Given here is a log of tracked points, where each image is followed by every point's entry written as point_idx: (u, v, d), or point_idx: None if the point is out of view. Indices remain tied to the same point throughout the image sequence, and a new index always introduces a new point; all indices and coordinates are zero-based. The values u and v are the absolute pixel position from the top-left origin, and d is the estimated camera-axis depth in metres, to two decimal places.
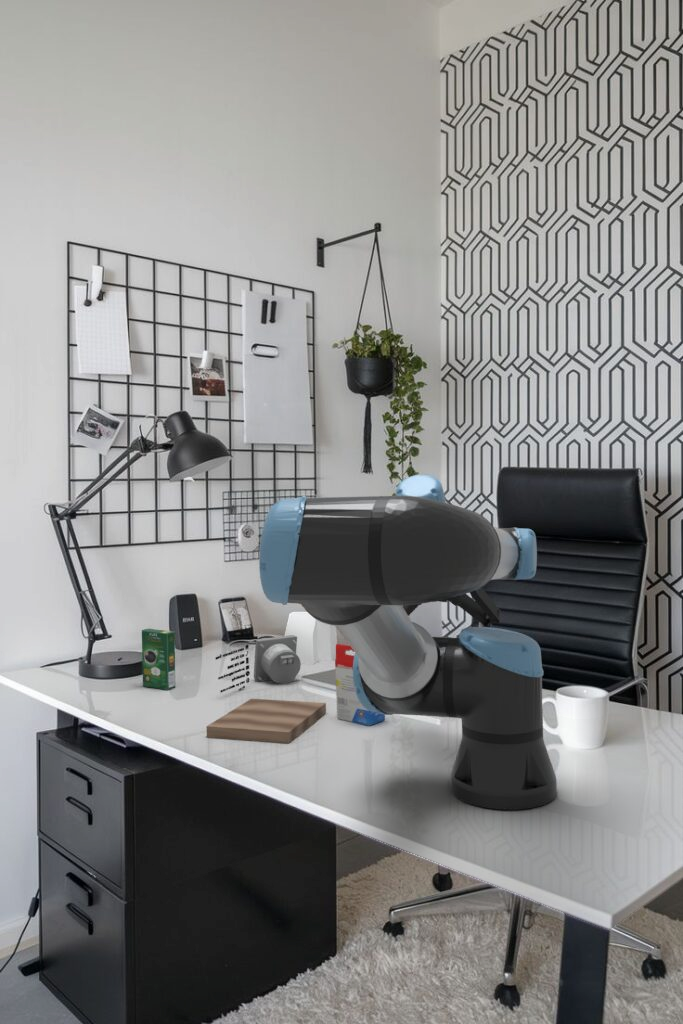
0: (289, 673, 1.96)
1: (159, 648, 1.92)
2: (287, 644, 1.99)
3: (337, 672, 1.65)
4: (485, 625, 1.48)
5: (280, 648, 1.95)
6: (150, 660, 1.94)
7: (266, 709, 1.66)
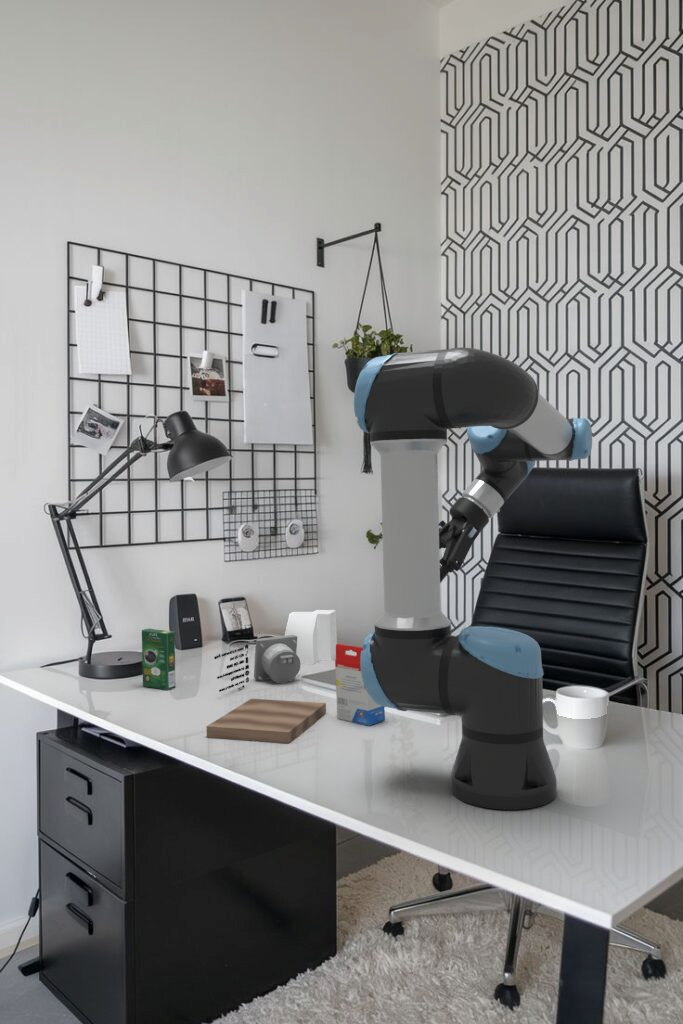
0: (289, 673, 1.96)
1: (160, 648, 1.92)
2: (287, 644, 2.00)
3: (337, 672, 1.65)
4: None
5: (280, 648, 1.96)
6: (150, 660, 1.94)
7: (266, 709, 1.66)
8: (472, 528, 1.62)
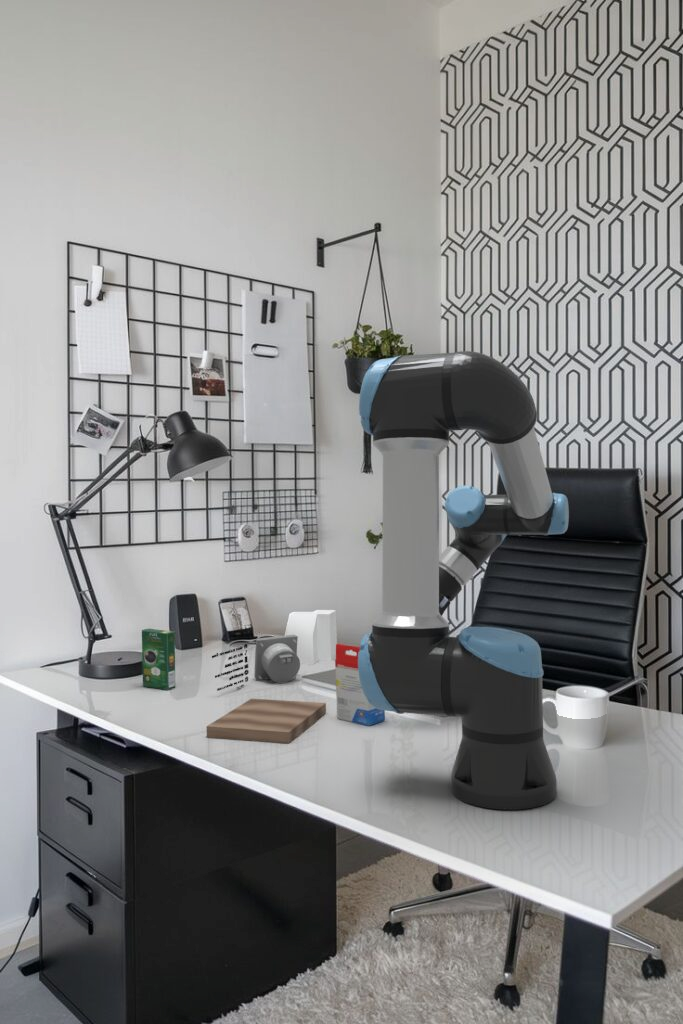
0: (289, 672, 1.96)
1: (160, 648, 1.92)
2: (287, 643, 2.00)
3: (337, 672, 1.65)
4: None
5: (279, 647, 1.96)
6: (150, 660, 1.94)
7: (266, 709, 1.66)
8: (443, 598, 1.62)
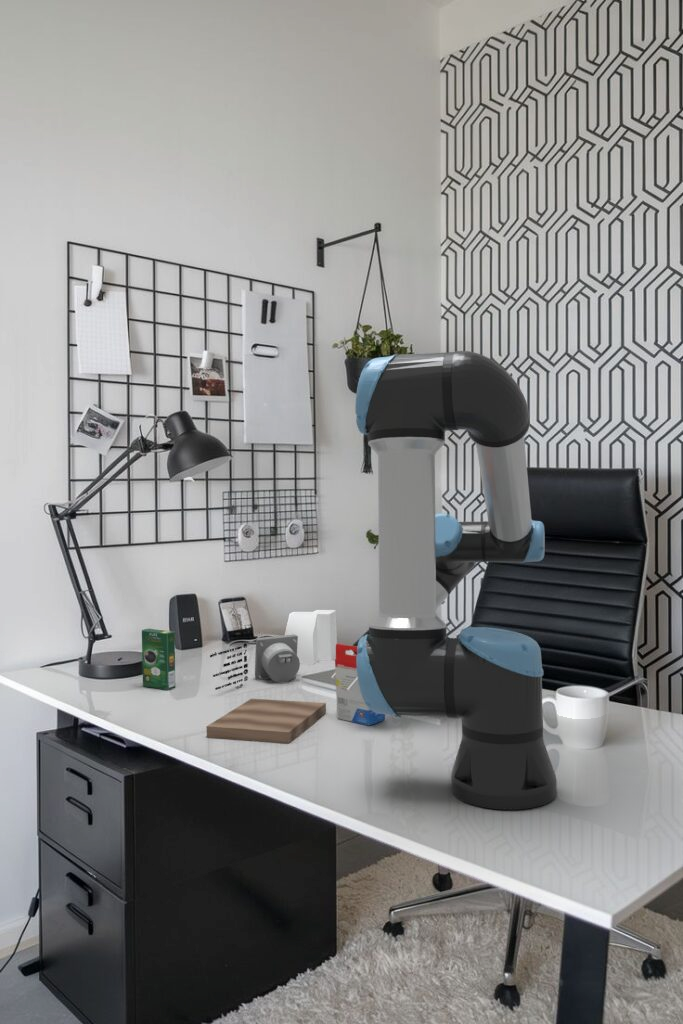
0: (288, 672, 1.97)
1: (159, 648, 1.92)
2: (288, 643, 2.00)
3: (337, 672, 1.65)
4: None
5: (279, 647, 1.97)
6: (150, 660, 1.94)
7: (266, 709, 1.66)
8: None
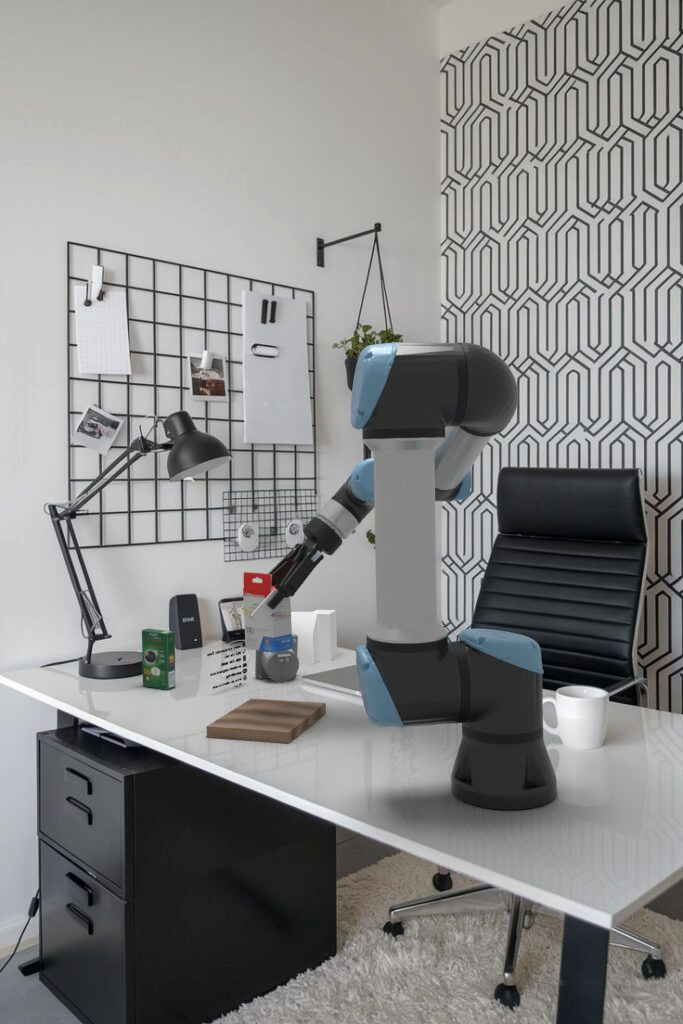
0: (288, 672, 1.97)
1: (160, 648, 1.92)
2: None
3: (245, 601, 1.63)
4: None
5: None
6: (150, 660, 1.94)
7: (266, 709, 1.66)
8: (316, 552, 1.57)
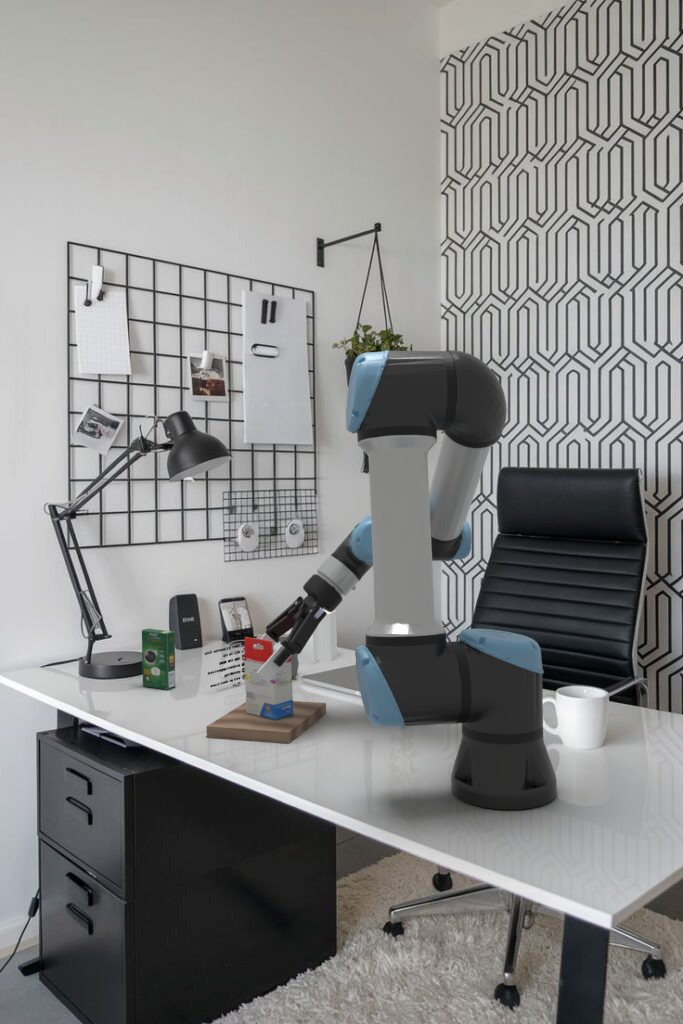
0: None
1: (160, 648, 1.92)
2: None
3: (246, 666, 1.63)
4: None
5: (278, 646, 1.98)
6: (150, 660, 1.94)
7: None
8: (319, 609, 1.58)
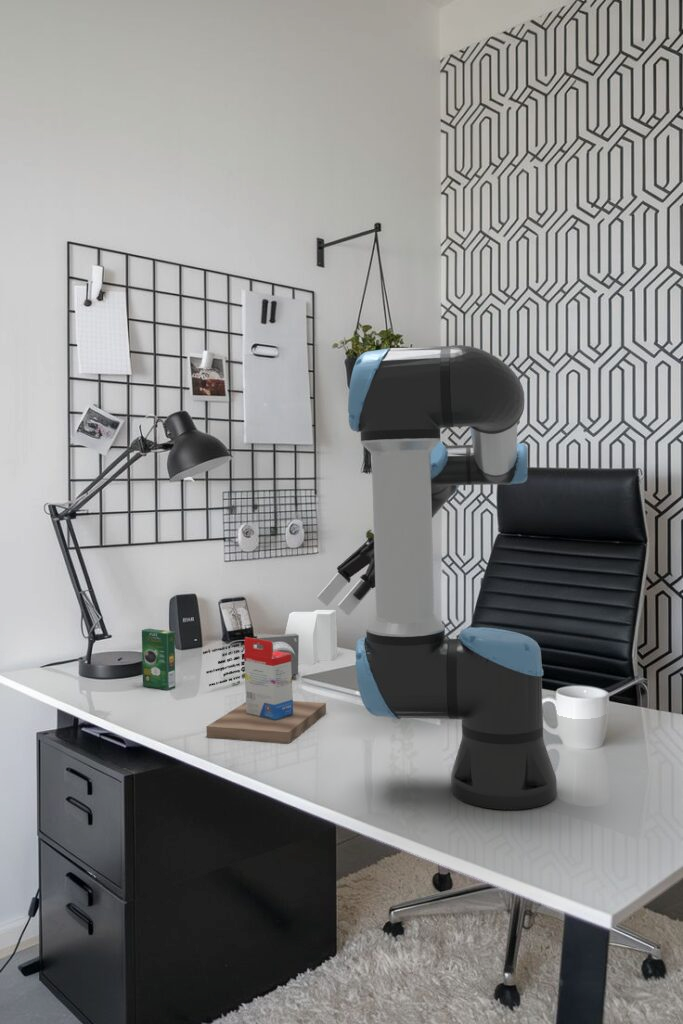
0: None
1: (160, 648, 1.92)
2: (288, 642, 2.02)
3: (246, 666, 1.63)
4: None
5: (278, 646, 1.98)
6: (150, 660, 1.94)
7: None
8: None
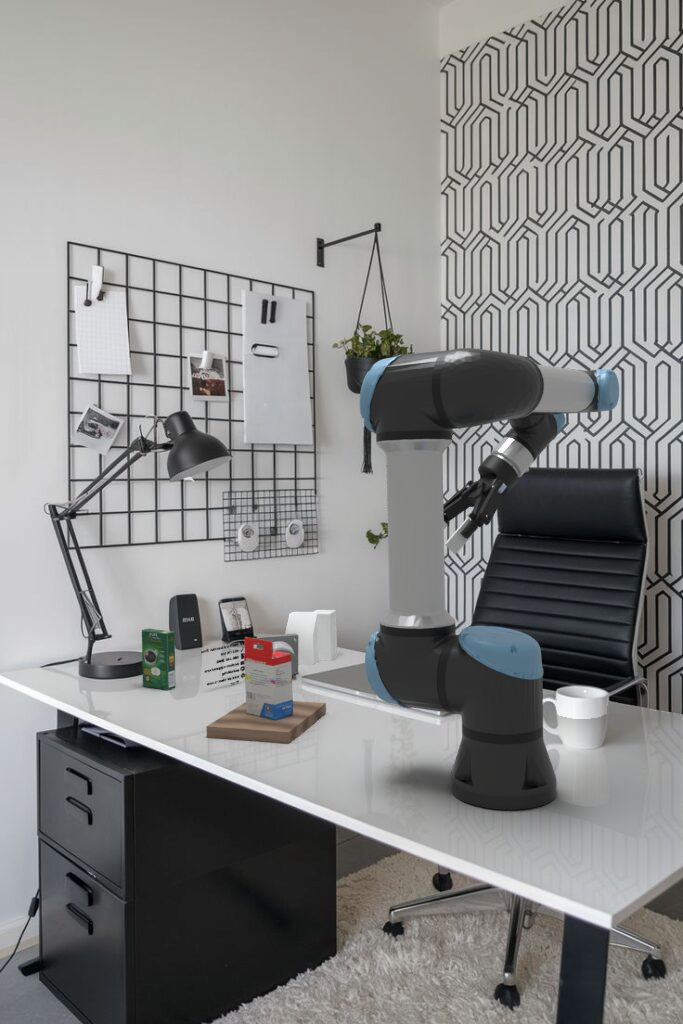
0: None
1: (160, 648, 1.92)
2: (288, 642, 2.02)
3: (246, 666, 1.63)
4: None
5: (277, 645, 1.98)
6: (150, 660, 1.94)
7: None
8: (502, 483, 1.60)
